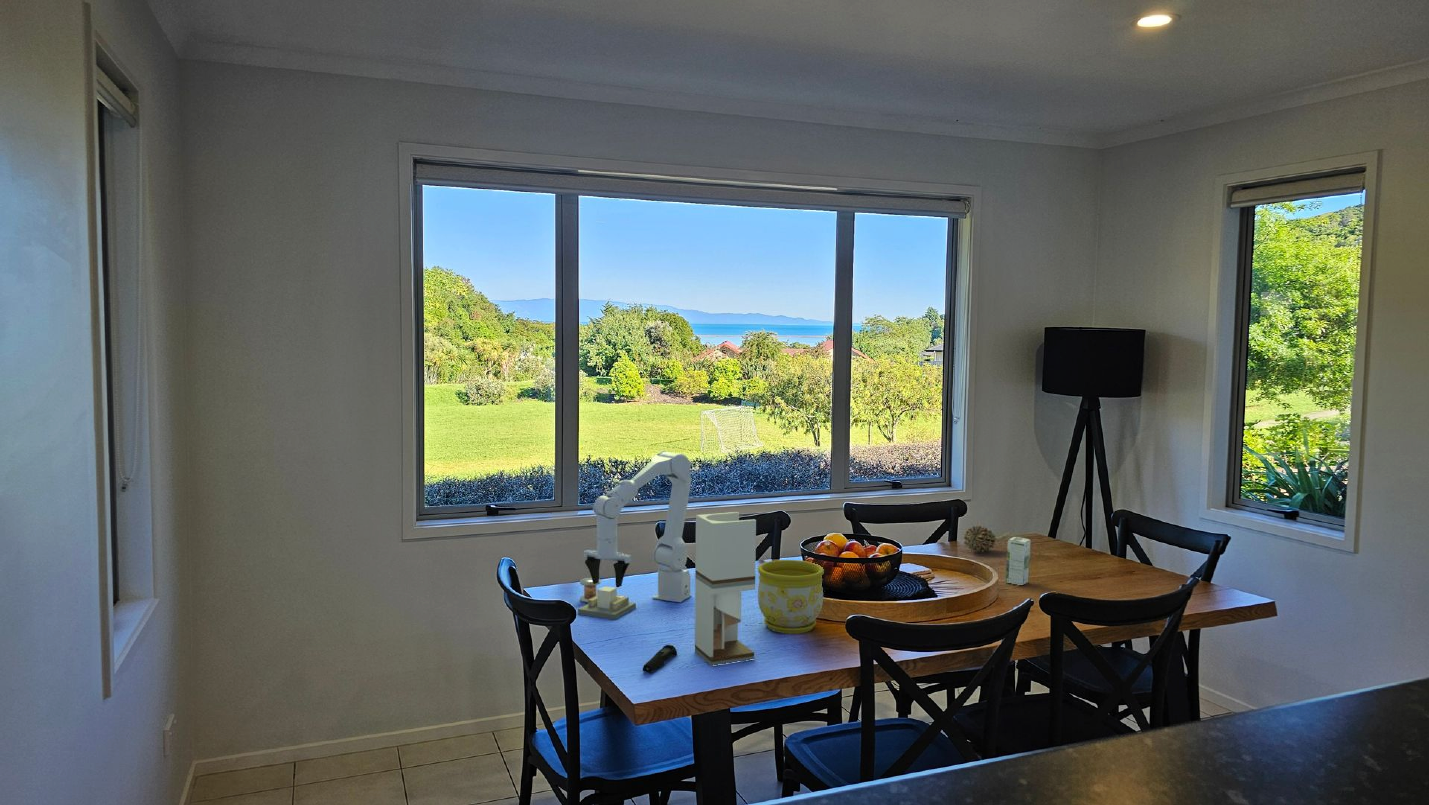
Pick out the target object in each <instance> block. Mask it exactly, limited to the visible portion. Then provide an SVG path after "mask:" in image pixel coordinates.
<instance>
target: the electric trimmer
mask: <svg viewBox="0 0 1429 805" xmlns="http://www.w3.org/2000/svg"><path fill="white" fill-rule="evenodd" d="M673 655H675V656H674V657H676V656H678V650H677V649H676V647H675V646H674V645H672V644H665V645H664V646H663V647H662V648H661V649H660V650H658V651H657V652H656V653H655V654H654V655H653V656H652V657H651V658H650V659H649V660H647V662H646V663H645V664H643V667H642V671H643V672H647V673H653V672H655V671H657V670H659V669H660V668H662V667H664V666H665V662H667V661H668V660H669V659H671V658H672V657H673Z"/></svg>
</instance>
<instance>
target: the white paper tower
mask: <svg viewBox="0 0 1429 805" xmlns="http://www.w3.org/2000/svg"><path fill="white" fill-rule="evenodd" d="M756 540H757V519H754V518H753V519H744V520H743V519H741V520H740V512H739V511H730V512H719V513H706V514H704V513H703V514H696V515H695V574H694V576H695V579H694V580H695V581H694V582H695V585H694V588H695V590H694V591H695V592H694V596H695V598H694V599H695V602H694V603H695V604H694V607H695V608H694V653H695V654H696V655H697V656H698V655H699V656H700V657H699V656H698V657H699V658H701V659H702V658H703V659H704V660H705V661H707V662H708V663H707V664H708V665H709V664H710V665H711V666H713V665H718V664H726V663H732V662H737V661H746V660H750V659H754V660H755V651H753V650H752V649H751V648H750V647H748V646H746V645H745V644H744V643H742V642H741V641H740V640H739V639H738V636H739V635H738V634H739V632H738V631H739V627H738V625H739V623H741V622H742V592H745V591H746V592H747V591H753V590H755V591H756V558H757V555H756V553H757V552H756V551H757V548H756V547H757V544H756V543H757V541H756ZM703 659H702V660H703ZM704 660H703V661H704ZM705 661H704V662H705ZM710 665H709V666H710ZM711 666H710V667H711Z"/></svg>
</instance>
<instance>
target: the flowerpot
mask: <svg viewBox="0 0 1429 805" xmlns="http://www.w3.org/2000/svg"><path fill="white" fill-rule="evenodd" d="M757 572H758V573H759V576H758V579H759V581H758V586H757V587H758V589H757V602H758V607H759V610H760V612H761V614H762V615H763V617H764V619H763V623H764V624H765V625H766V626H767V628H768V629H769V630H771V631H773V632H775V633H776V632H777V633H780V632H781V633H780V634H790V635H792V634H793V635H795V634H802V633H803V634H804V633H808V632H809V631H811V630H812V629H813V628H814V627H815V626H816V625H817V620H816V619H817V617H818V616H819V615H820V612H822V611H821V610H822V609H823V608H822V607H823V604H824V603H823V602H824V592H823V587H822V580H823V579H822V575H823V574H824V569H823V567H821V566H820V565H818V564H815V563H812V561H807V560H800V559H799V560H796V559H774V560H770V561H766V562H763V563H761V564H759V565H758V566H757Z"/></svg>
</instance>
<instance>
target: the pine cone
mask: <svg viewBox="0 0 1429 805" xmlns="http://www.w3.org/2000/svg"><path fill="white" fill-rule="evenodd" d="M1010 534H1011V533H1010V532H1005V533H1004V534H1002V535H1001V536H997V537H996V534H994V532H992V530H990V529H989V530H988V528H987V527H984V526H983V527H982V525H976V526H975V525H973V526H972V527H970V528H967V529H966V531H965V532H964V533H963V535H964V537H962V538H963V541H964V542H963V544H964V545H965V546H967V547H968V549H969V550H971V551H974V552H976V551H977V552H980V551H982V552H990V550H991V548H992V549H994V548H995V546H996V542H998V541H1003V540H1005V539H1007V538H1011V536H1010ZM985 550H986V551H985Z"/></svg>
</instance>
